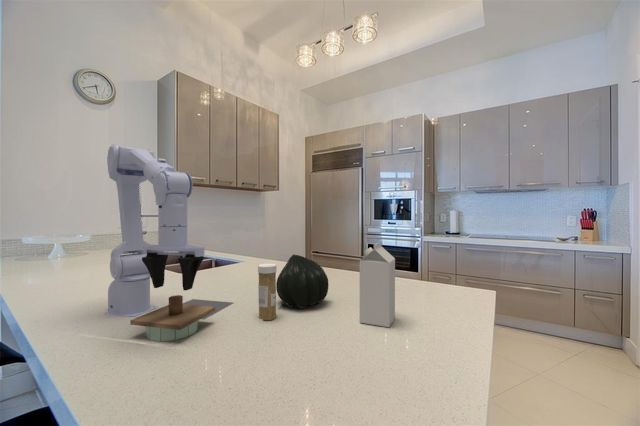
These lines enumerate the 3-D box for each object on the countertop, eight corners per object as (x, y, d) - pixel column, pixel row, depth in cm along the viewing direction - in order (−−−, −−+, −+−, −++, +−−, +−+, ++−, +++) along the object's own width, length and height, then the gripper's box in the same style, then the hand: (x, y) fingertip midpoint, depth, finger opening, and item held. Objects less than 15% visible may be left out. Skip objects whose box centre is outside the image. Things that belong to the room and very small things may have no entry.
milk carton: (395, 318, 75) (395, 242, 75) (389, 328, 68) (389, 245, 68) (367, 314, 78) (367, 241, 78) (359, 323, 71) (359, 244, 71)
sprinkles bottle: (279, 318, 74) (279, 264, 74) (262, 322, 72) (262, 266, 72) (271, 313, 78) (271, 262, 78) (255, 316, 76) (255, 263, 76)
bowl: (135, 339, 62) (135, 324, 62) (170, 322, 72) (170, 309, 72) (175, 345, 59) (175, 329, 59) (207, 326, 69) (207, 313, 69)
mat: (156, 316, 76) (156, 314, 76) (192, 300, 90) (192, 299, 90) (203, 321, 73) (203, 319, 73) (234, 304, 86) (234, 302, 86)
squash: (343, 288, 82) (322, 245, 90) (296, 299, 74) (277, 250, 82) (323, 312, 91) (304, 270, 99) (279, 324, 83) (263, 277, 91)
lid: (130, 324, 62) (130, 303, 62) (172, 306, 73) (172, 288, 73) (180, 330, 59) (180, 307, 59) (215, 310, 71) (215, 291, 71)
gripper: (213, 225, 67) (212, 285, 67) (159, 225, 71) (159, 282, 71) (192, 227, 61) (192, 294, 61) (134, 226, 64) (134, 289, 64)
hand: (173, 288), depth 65 cm, fingers open, 7 cm apart
